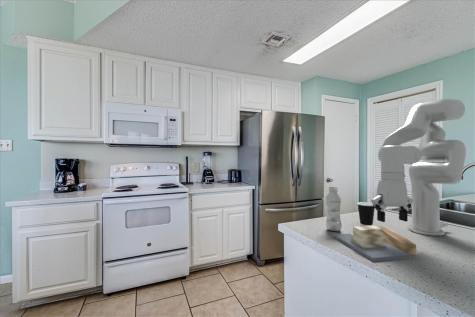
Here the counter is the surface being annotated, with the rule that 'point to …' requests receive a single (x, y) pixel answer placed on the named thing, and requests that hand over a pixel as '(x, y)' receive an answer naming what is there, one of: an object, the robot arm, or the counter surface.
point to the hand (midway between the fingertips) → (392, 220)
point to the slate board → (374, 250)
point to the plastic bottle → (333, 210)
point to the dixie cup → (366, 213)
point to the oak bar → (398, 241)
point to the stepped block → (368, 236)
